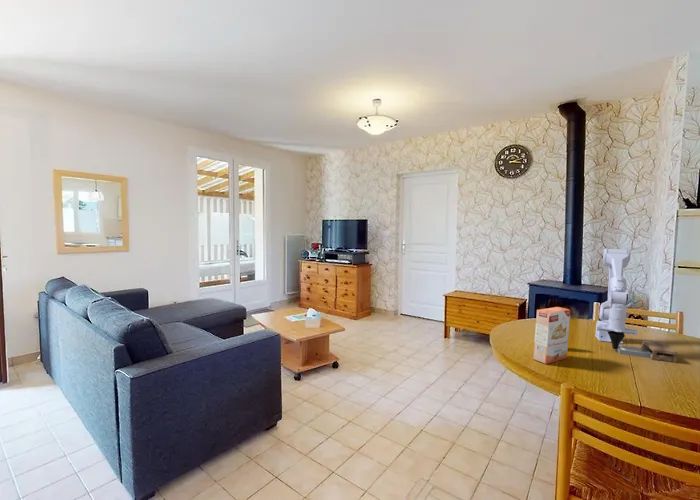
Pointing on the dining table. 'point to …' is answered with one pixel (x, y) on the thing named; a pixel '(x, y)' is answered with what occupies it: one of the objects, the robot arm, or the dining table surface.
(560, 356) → the cracker box
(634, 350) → the tile
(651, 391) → the dining table surface
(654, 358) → the shelf
